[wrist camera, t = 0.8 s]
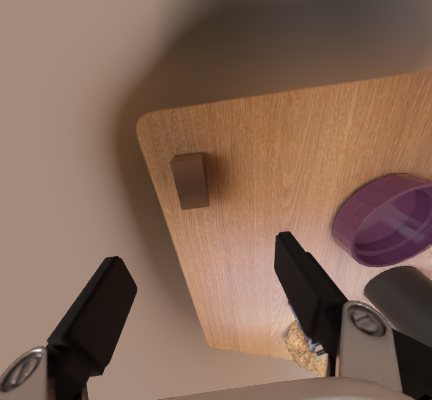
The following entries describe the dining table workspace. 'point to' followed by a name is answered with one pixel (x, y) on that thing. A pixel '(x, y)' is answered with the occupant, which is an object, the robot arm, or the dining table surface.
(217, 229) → the dining table surface
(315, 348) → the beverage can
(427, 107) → the dining table surface
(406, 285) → the vase
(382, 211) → the bowl
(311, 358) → the beige rock
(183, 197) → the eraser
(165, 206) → the dining table surface
